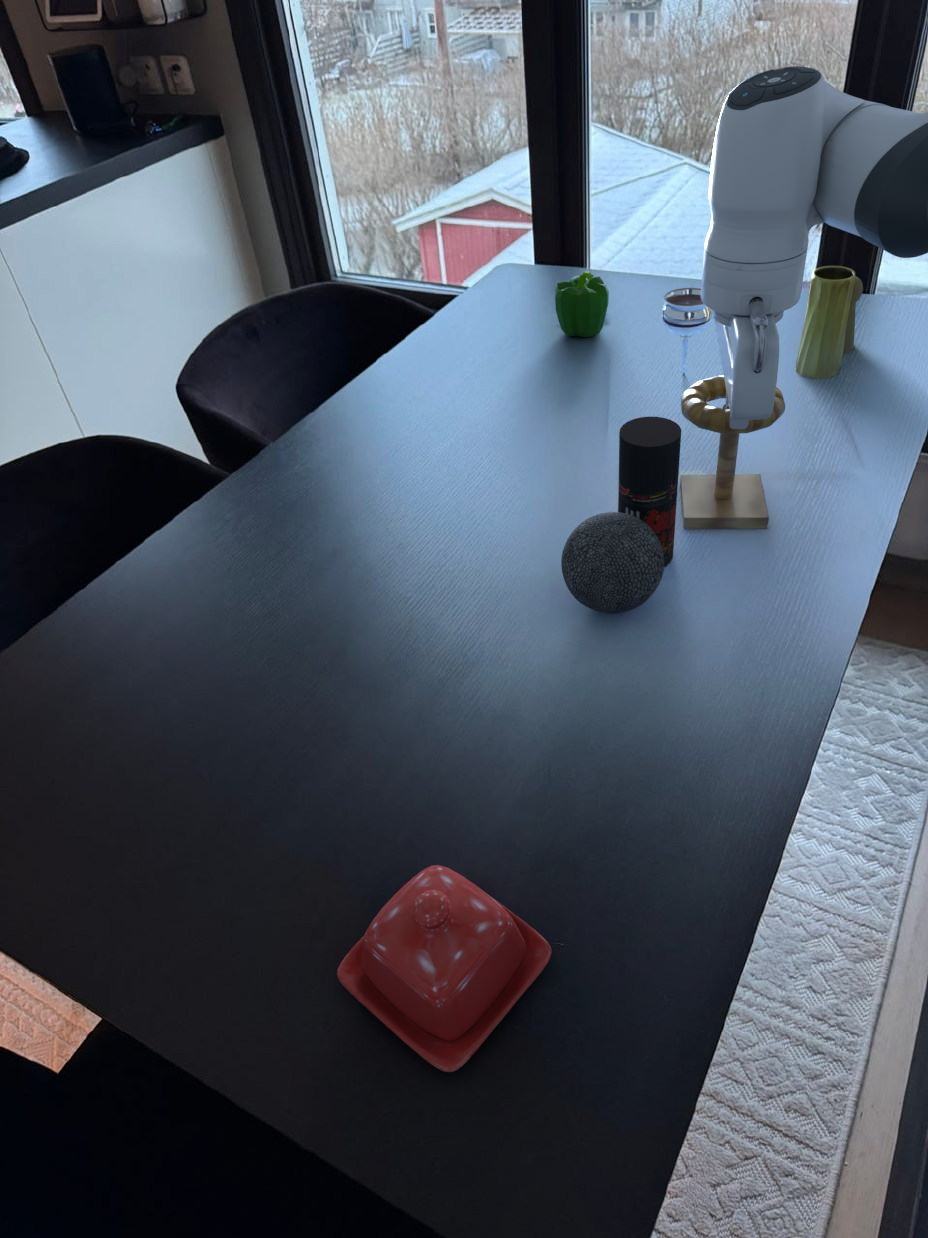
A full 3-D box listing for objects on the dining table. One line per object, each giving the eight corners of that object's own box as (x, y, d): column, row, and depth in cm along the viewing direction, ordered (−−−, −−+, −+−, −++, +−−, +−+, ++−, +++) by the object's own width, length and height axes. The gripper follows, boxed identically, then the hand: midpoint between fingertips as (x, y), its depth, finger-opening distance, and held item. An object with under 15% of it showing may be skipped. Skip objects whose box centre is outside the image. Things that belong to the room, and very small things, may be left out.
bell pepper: (551, 325, 144) (549, 263, 138) (601, 318, 145) (601, 256, 138) (561, 346, 138) (559, 282, 132) (613, 339, 138) (614, 274, 132)
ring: (776, 391, 96) (779, 370, 95) (788, 437, 89) (791, 415, 87) (679, 393, 98) (680, 372, 97) (681, 438, 90) (683, 416, 89)
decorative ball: (651, 641, 85) (655, 558, 79) (551, 625, 88) (547, 544, 82) (670, 579, 92) (675, 498, 86) (576, 566, 95) (574, 487, 89)
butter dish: (451, 1091, 56) (435, 1030, 50) (331, 981, 62) (305, 916, 57) (561, 957, 62) (557, 889, 56) (441, 869, 68) (427, 800, 63)
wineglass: (717, 380, 124) (725, 295, 117) (682, 396, 122) (688, 310, 114) (683, 365, 129) (688, 283, 121) (648, 380, 126) (651, 297, 119)
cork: (806, 361, 126) (818, 284, 119) (810, 344, 130) (822, 268, 123) (851, 364, 124) (866, 286, 117) (854, 346, 128) (869, 269, 121)
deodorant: (611, 567, 95) (612, 443, 85) (624, 535, 99) (627, 413, 89) (667, 575, 93) (674, 449, 83) (678, 542, 97) (686, 419, 87)
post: (758, 484, 104) (772, 385, 96) (767, 528, 97) (782, 426, 89) (680, 485, 105) (686, 388, 97) (683, 529, 98) (690, 428, 90)
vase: (807, 363, 126) (823, 261, 116) (848, 373, 122) (868, 269, 113) (784, 379, 123) (799, 275, 113) (825, 390, 119) (844, 284, 110)
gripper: (804, 323, 72) (781, 470, 81) (774, 240, 87) (758, 371, 96) (724, 326, 73) (710, 471, 82) (708, 243, 88) (698, 373, 97)
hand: (736, 416), depth 89 cm, fingers closed on ring, 2 cm apart
